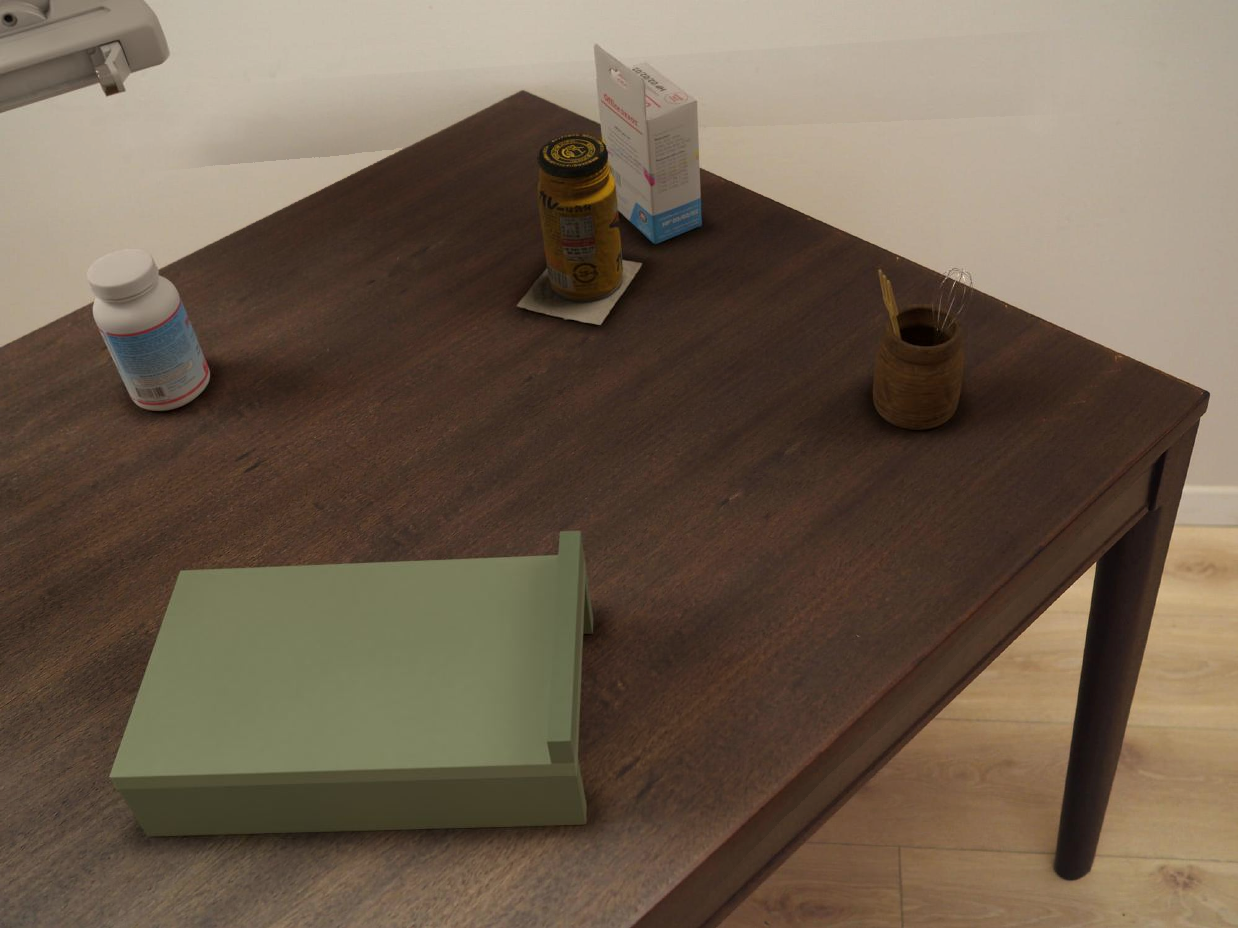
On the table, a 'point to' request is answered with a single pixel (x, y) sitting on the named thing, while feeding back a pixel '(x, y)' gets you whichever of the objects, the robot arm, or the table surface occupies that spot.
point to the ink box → (650, 147)
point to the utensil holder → (919, 362)
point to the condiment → (578, 233)
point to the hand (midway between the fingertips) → (48, 105)
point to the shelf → (363, 698)
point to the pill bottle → (147, 331)
